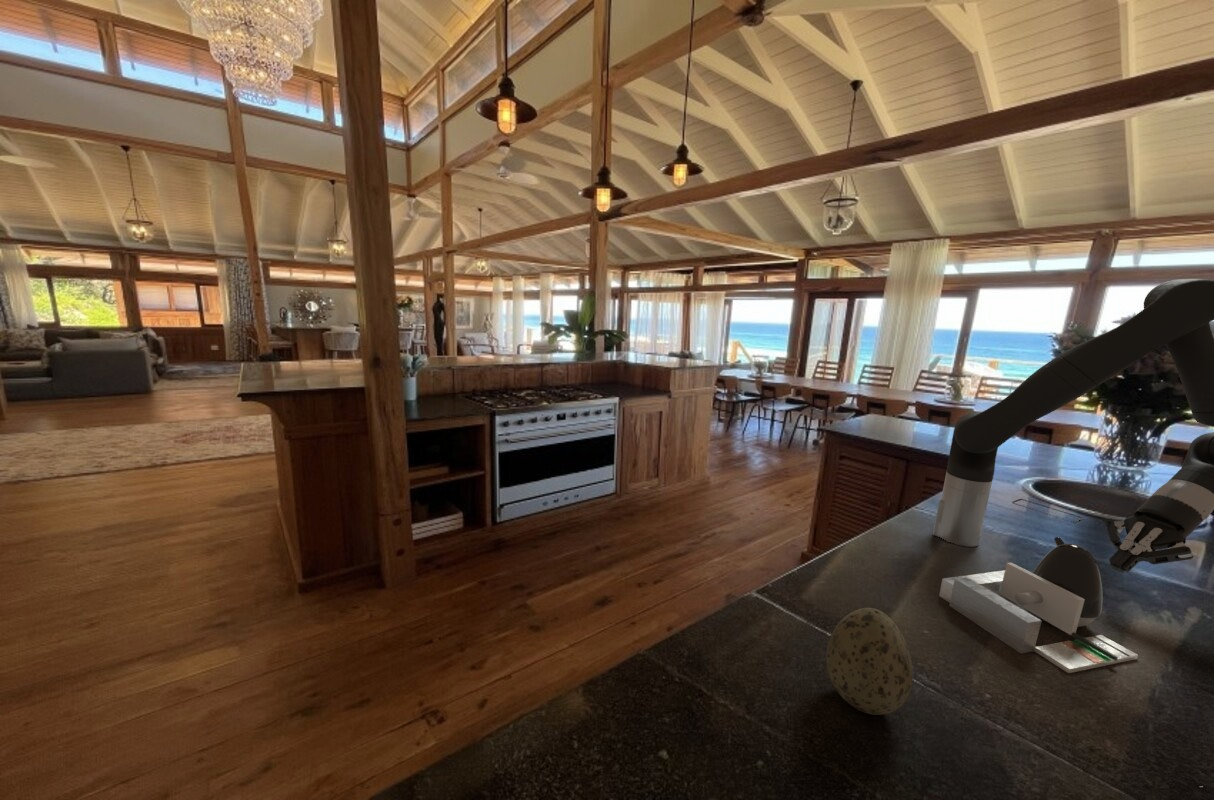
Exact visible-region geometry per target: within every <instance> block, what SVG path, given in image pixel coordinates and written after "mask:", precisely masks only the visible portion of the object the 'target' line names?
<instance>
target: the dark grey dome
mask: <svg viewBox="0 0 1214 800" xmlns="http://www.w3.org/2000/svg"><path fill="white" fill-rule="evenodd" d="M1053 540H1054V543H1055V544H1056V546H1054V548H1052V549H1051V550H1049V551H1048V552H1047V553H1046V554H1045V556H1044V557H1042V559H1041V560H1040V562H1038V564H1037V565H1036V567H1035V569H1034V570H1033V572H1032V573H1033V574H1035V575H1037V576H1039V577H1041V578H1043V579H1045V580H1047V581H1049V582H1051V583H1053V584H1055V585H1057V586H1059V587H1061V588H1063V589H1065V590H1067V591H1069V592H1071V593H1073V594H1075V595H1077V596H1079V597H1081V598H1083V599H1085V600H1084V604H1083V608H1082V611H1081V615H1080V619H1079V622H1078V626H1077V628H1079V627H1084V626H1087V625H1090V624H1092V623H1093V622H1094V621H1095V620H1096V618H1098V617H1100V616H1101V614H1102V610H1103V595H1104V594H1103V585H1102V584H1103V583H1102V577H1101V574H1100V568H1099V566H1098V563H1097V561H1096V559H1095V558H1094V555H1093V554H1092V553H1091V552H1090V551H1089V550H1088V549H1087V548H1085V547H1083V546H1081V545H1078V544H1075V543H1065V542H1064V541H1063V538H1061V537H1060V536H1059V537H1058V536H1055V537H1054V538H1053Z"/></svg>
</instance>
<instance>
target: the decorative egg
mask: <svg viewBox="0 0 1214 800" xmlns="http://www.w3.org/2000/svg"><path fill="white" fill-rule="evenodd" d="M825 655H826V656H825V660H826V661H825V662H826V668H827V673H828V675H829V678H830V681H831V683H832V685H833V687H834V689H835V690H836V691H837V693H838V694H839V695H840V697H841V698H842V699H843V700H844V701H845V702H846V703H847V704H849V705H850V706H851V707H853V708H855V709H856V710H858V711H860V712H863V713H865V714H868V715H875V716H880V715H881V716H882V715H887V714H889V713H893V712H895V711H897V710H898V709H899V708H900V707H902V706H903V705H904V704H905V702H906V701H907V699H908V698H909V695H910V693H911V691H912V686H913V678H914V673H913V672H914V671H913V670H914V669H913V668H914V667H913V663H912V658H911V653H910V650H909V647H908V644H907V642H906V639H905V638H904V635H903V634H902V632H901V630H900V628H899V627H898V626H897V624H896V623H895V622H894V620H893V619H892V618H891V617H889V615H887V614H886V613H885V612H883V611H881V610H880V609H877V608H874V607H863V608H858V609H856V610H854V611H852V612H850V613H848V614H847V615H845V616H843V618H842V619H841V620H840V621H839V622H838V623H837V625H836V626H835V627H834V629H833V631H832V633H831V635H830V637H829V639H828V643H827V647H826V654H825Z"/></svg>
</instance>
